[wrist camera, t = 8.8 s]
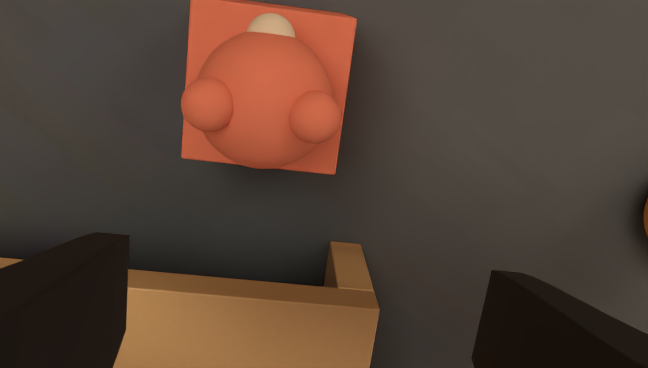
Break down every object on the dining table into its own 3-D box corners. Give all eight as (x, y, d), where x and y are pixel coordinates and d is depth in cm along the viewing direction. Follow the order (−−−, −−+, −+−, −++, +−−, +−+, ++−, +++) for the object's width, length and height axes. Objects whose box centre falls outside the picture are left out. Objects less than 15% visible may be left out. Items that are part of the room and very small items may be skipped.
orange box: (326, 139, 21) (346, 220, 14) (202, 125, 21) (152, 201, 13) (343, 13, 20) (376, 24, 12) (211, -5, 20) (162, -4, 12)
